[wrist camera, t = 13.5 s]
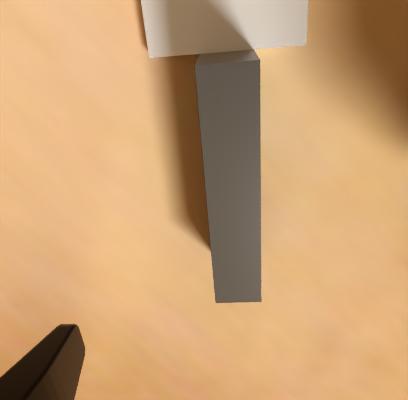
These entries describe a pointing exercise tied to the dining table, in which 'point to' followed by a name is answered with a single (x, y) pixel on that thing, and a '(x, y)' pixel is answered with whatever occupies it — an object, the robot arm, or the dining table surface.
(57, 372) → the robot arm
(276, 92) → the dining table surface
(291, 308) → the dining table surface
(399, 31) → the dining table surface
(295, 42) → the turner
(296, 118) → the dining table surface
